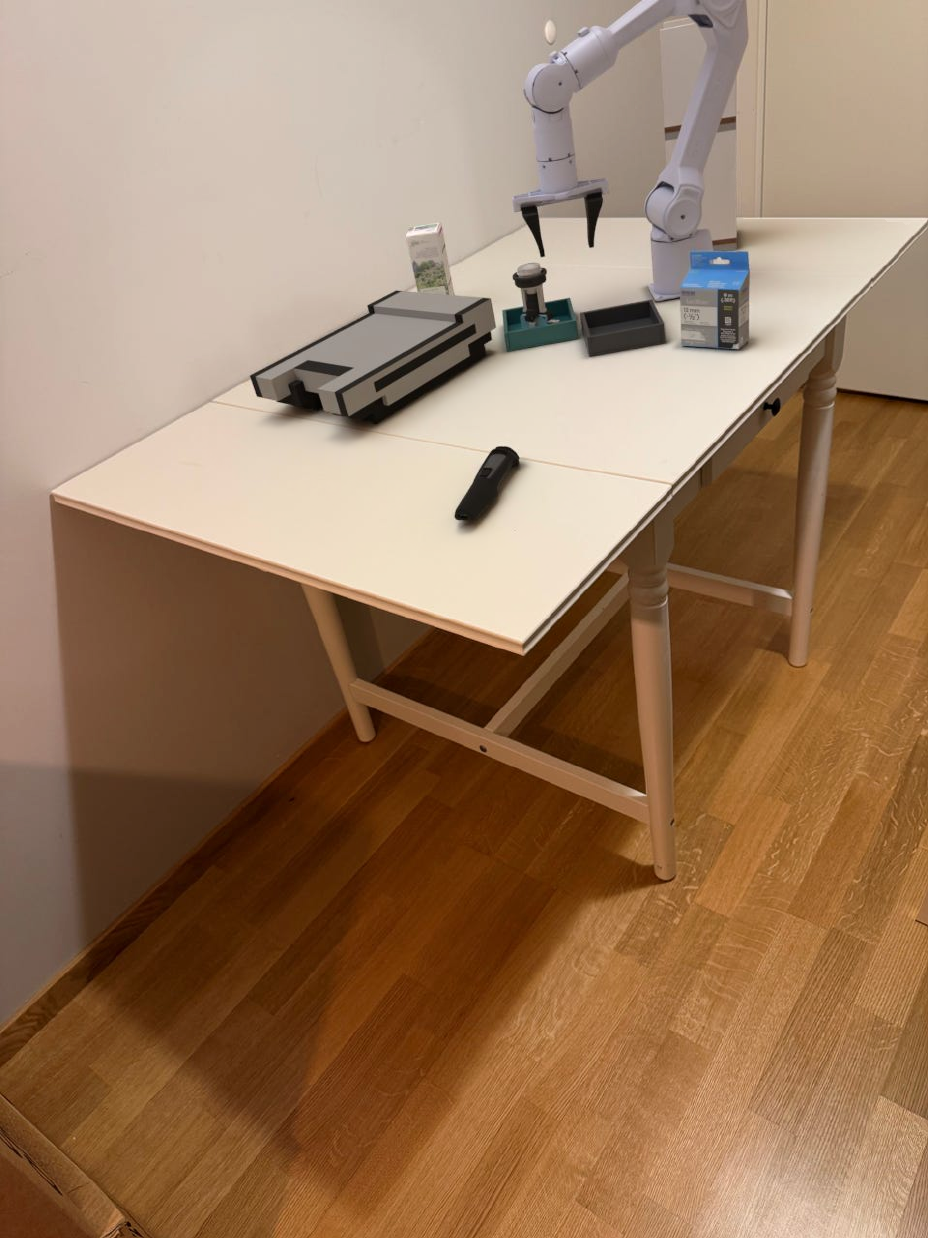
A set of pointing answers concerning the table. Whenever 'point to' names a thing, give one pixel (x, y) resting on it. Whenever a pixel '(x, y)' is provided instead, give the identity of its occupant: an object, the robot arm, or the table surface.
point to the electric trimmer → (486, 483)
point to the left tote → (540, 334)
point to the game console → (383, 356)
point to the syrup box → (429, 259)
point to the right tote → (622, 327)
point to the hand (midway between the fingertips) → (566, 250)
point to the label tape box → (716, 300)
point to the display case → (678, 80)
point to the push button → (532, 295)
